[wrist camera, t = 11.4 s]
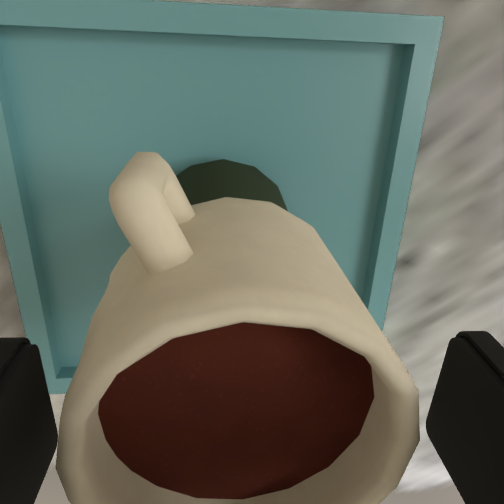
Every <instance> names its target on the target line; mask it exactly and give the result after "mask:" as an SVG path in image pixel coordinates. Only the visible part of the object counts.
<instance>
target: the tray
mask: <svg viewBox="0 0 504 504" xmlns="http://www.w3.org/2000/svg"><path fill="white" fill-rule="evenodd" d="M443 22H444V17H443V16H424V15H406V14H388V13H370V12H352V11H334V10H316V9H298V8H280V7H262V6H244V5H226V4H208V3H190V2H172V1H154V0H0V224H1V228H2V233H3V237H4V242H5V246H6V251H7V255H8V259H9V264H10V268H11V273H12V277H13V282H14V286H15V291H16V295H17V299H18V304H19V308H20V313H21V317H22V322H23V326H24V331H25V335H26V338H28V339H29V341H30V343H31V344H36V345H37V346H38V348H39V351H40V356H41V360H42V365H43V369H44V374H45V378H46V383H47V387H48V392H49V394H65V393H66V392H67V390H68V388H69V385H70V383H71V381H72V378H73V376H74V373H75V371H76V369H77V366H78V364H79V361H80V357H81V354H82V350H83V346H84V343H85V340H86V336H87V333H88V329H89V326H90V322H91V319H92V316H93V314H94V312H95V311H96V309H97V307H98V305H99V303H100V301H101V299H102V297H103V296H104V294H105V291H106V289H107V286H108V284H109V280H110V274H111V272H112V271H113V269H114V267H115V266H116V264H117V262H118V261H119V259H120V257H121V256H122V255H123V254H124V253H125V251H126V250H127V249H128V248H129V247H130V243H129V241H128V240H127V238H126V237H125V235H124V233H123V232H122V230H121V228H120V227H119V225H118V223H117V221H116V219H115V217H114V214H113V212H112V209H111V206H110V202H109V187H110V186H111V184H112V183H113V182H114V180H115V179H116V178H117V176H118V175H119V173H120V172H121V171H122V169H123V168H124V167H125V165H126V164H127V163H128V162H129V161H130V160H131V158H132V157H133V156H134V155H135V154H136V153H137V152H155V153H158V154H159V155H160V156H161V157H162V158H163V159H164V160H165V161H166V162H167V163H168V164H169V165H170V167H171V169H172V170H173V172H174V174H175V175H176V176H177V175H178V174H179V173H181V172H182V171H184V170H185V169H186V168H188V167H189V166H191V165H196V164H201V163H206V162H211V161H216V160H221V159H226V160H230V161H234V162H238V163H242V164H246V165H250V166H255V167H256V168H257V169H258V170H260V171H261V172H262V173H263V174H264V175H265V176H267V177H268V178H269V179H270V180H271V181H272V182H274V183H275V184H276V185H277V186H278V188H279V190H280V192H281V195H282V197H283V200H284V202H285V205H286V207H287V210H288V212H289V213H291V214H293V215H294V216H296V217H298V218H300V219H301V220H303V221H305V222H306V223H308V224H309V225H311V226H312V227H314V229H315V230H316V232H317V233H318V235H319V236H320V238H321V239H322V241H323V242H324V244H325V245H326V247H327V248H328V250H329V252H330V253H331V255H332V256H333V258H334V259H335V261H336V262H337V264H338V265H339V267H340V268H341V270H342V271H343V273H344V274H345V276H346V277H347V279H348V280H349V282H350V284H351V285H352V287H353V288H354V290H355V291H356V293H357V294H358V296H359V297H360V299H361V300H362V302H363V303H364V305H365V307H366V308H367V310H368V311H369V313H370V314H371V316H372V317H373V319H374V320H375V322H376V323H377V325H378V326H379V328H380V330H381V331H382V330H383V325H384V320H385V315H386V309H387V304H388V299H389V294H390V289H391V284H392V279H393V274H394V269H395V264H396V259H397V254H398V249H399V244H400V239H401V234H402V229H403V224H404V219H405V214H406V209H407V204H408V199H409V194H410V188H411V183H412V178H413V173H414V168H415V163H416V158H417V153H418V148H419V143H420V138H421V133H422V128H423V123H424V118H425V113H426V108H427V103H428V98H429V93H430V88H431V83H432V78H433V73H434V67H435V62H436V57H437V52H438V47H439V42H440V37H441V32H442V27H443Z"/></svg>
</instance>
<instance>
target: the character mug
mask: <svg viewBox="0 0 504 504" xmlns="http://www.w3.org/2000/svg"><path fill="white" fill-rule="evenodd" d="M109 202H110V206H111V209H112V212H113V214H114V217H115V219H116V221H117V223H118V225H119V227H120V228H121V230H122V232H123V233H124V235H125V237H126V238H127V240H128V241H129V243H130V247H129V248H128V249H127V250H126V251H125V253H124V254H123V255H122V256H121V257H120V259H119V261H118V262H117V264H116V266H115V267H114V269H113V271H112V272H111V274H110V280H109V284H108V286H107V289H106V291H105V294H104V296H103V297H102V299H101V301H100V303H99V305H98V307H97V309H96V311H95V312H94V314H93V316H92V319H91V322H90V326H89V329H88V333H87V336H86V340H85V343H84V346H83V350H82V354H81V357H80V361H79V364H78V366H77V369H76V371H75V373H74V376H73V378H72V381H71V383H70V385H69V388H68V390H67V392H66V395H65V399H64V403H63V408H62V412H61V417H60V425H59V437H58V448H57V459H56V470H57V473H58V475H59V478H60V480H61V483H62V485H63V488H64V490H65V493H66V495H67V498H68V500H69V501H70V503H71V504H379V503H380V502H381V501H382V500H384V499H385V498H386V497H387V496H388V495H389V494H390V493H391V492H392V491H393V490H394V489H395V488H396V487H397V486H398V484H399V482H400V480H401V478H402V476H403V474H404V472H405V469H406V467H407V465H408V463H409V461H410V459H411V457H412V455H413V453H414V451H415V449H416V447H417V445H418V443H419V441H420V432H419V397H418V388H417V387H416V385H415V383H414V381H413V380H412V378H411V376H410V374H409V373H408V371H407V369H406V368H405V366H404V365H403V363H402V362H401V360H400V359H399V357H398V356H397V354H396V353H395V351H394V349H393V348H392V346H391V345H390V343H389V342H388V340H387V339H386V337H385V336H384V334H383V333H382V331H381V330H380V328H379V326H378V325H377V323H376V322H375V320H374V319H373V317H372V316H371V314H370V313H369V311H368V310H367V308H366V307H365V305H364V303H363V302H362V300H361V299H360V297H359V296H358V294H357V293H356V291H355V290H354V288H353V287H352V285H351V284H350V282H349V280H348V279H347V277H346V276H345V274H344V273H343V271H342V270H341V268H340V267H339V265H338V264H337V262H336V261H335V259H334V258H333V256H332V255H331V253H330V252H329V250H328V248H327V247H326V245H325V244H324V242H323V241H322V239H321V238H320V236H319V235H318V233H317V232H316V230H315V229H314V227H312V226H311V225H309V224H308V223H306V222H305V221H303V220H301V219H300V218H298V217H296V216H294V215H293V214H291V213H289V212H288V210H287V207H286V205H285V202H284V200H283V197H282V195H281V192H280V190H279V188H278V186H277V185H276V184H275V183H274V182H272V181H271V180H270V179H269V178H268V177H267V176H265V175H264V174H263V173H262V172H261V171H260V170H258V169H257V168H256V167H255V166H250V165H246V164H242V163H238V162H234V161H230V160H226V159H221V160H216V161H211V162H206V163H201V164H196V165H191V166H189V167H188V168H186V169H185V170H184V171H182V172H181V173H179V174H178V175H177V176H176V175H175V174H174V172H173V170H172V169H171V167H170V165H169V164H168V163H167V162H166V161H165V160H164V159H163V158H162V157H161V156H160V155H159V154H158V153H155V152H137V153H136V154H135V155H134V156H133V157H132V158H131V160H130V161H129V162H128V163H127V164H126V165H125V167H124V168H123V169H122V171H121V172H120V173H119V175H118V176H117V178H116V179H115V180H114V182H113V183H112V184H111V186H110V187H109Z"/></svg>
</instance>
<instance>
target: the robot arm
mask: <svg viewBox="0 0 504 504" xmlns="http://www.w3.org/2000/svg"><path fill="white" fill-rule="evenodd" d="M426 430H427V434H428V436H429V438H430V440H431V442H432V444H433V446H434V447H435V449H436V451H437V453H438V455H439V457H440V458H441V460H442V462H443V464H444V466H445V467H446V469H447V471H448V473H449V475H450V476H451V478H452V480H453V482H454V484H455V486H456V487H457V489H458V491H459V493H460V495H461V496H462V498H463V500H464V502H465V504H504V348H503V347H502V346H501V345H500V343H499V342H498V341H497V340H496V339H495V338H494V337H493V336H492V335H491V334H489V333H488V332H486V331H462V332H459V333H458V334H457V335H456V337H455V338H452V339H451V340H450V342H449V345H448V348H447V351H446V355H445V358H444V362H443V365H442V368H441V372H440V375H439V379H438V382H437V385H436V389H435V392H434V396H433V399H432V402H431V406H430V409H429V413H428V416H427V419H426ZM57 441H58V433H57V428H56V423H55V419H54V414H53V410H52V405H51V401H50V396H49V392H48V387H47V383H46V378H45V374H44V369H43V365H42V360H41V356H40V351H39V348H38V346H37V345H36V344H31V343H30V341H29V339H28V338H25V337H24V338H0V504H34V502H35V499H36V497H37V494H38V492H39V489H40V487H41V484H42V482H43V480H44V477H45V475H46V472H47V470H48V467H49V465H50V463H51V460H52V458H53V455H54V453H55V450H56V446H57Z"/></svg>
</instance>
